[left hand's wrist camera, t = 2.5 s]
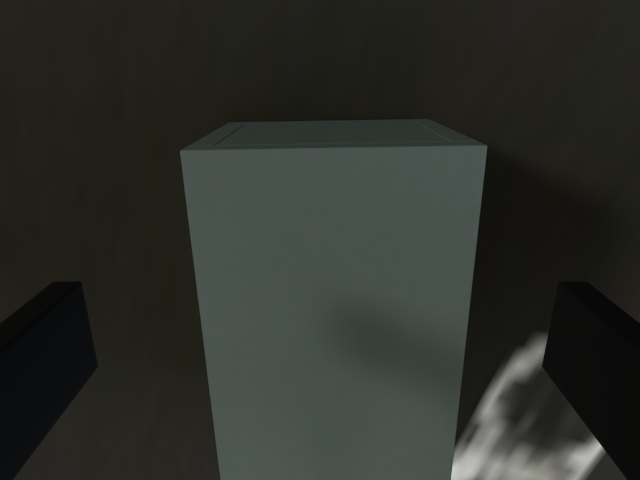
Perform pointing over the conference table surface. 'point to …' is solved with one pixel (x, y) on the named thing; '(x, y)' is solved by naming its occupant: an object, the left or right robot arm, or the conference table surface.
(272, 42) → the conference table surface
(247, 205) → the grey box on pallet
